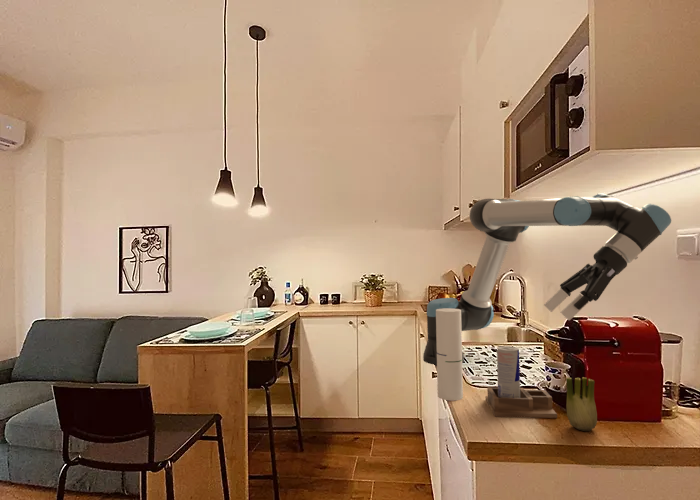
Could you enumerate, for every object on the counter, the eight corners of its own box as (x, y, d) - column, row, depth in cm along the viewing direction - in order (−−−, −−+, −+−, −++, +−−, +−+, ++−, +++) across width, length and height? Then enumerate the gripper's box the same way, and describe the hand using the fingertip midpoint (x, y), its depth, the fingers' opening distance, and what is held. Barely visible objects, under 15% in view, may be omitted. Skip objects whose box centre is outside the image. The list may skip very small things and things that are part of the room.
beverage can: (522, 407, 118) (521, 349, 118) (500, 407, 118) (499, 349, 118) (517, 400, 123) (516, 345, 123) (496, 400, 124) (494, 345, 124)
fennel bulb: (564, 427, 107) (563, 376, 107) (575, 422, 110) (574, 373, 110) (589, 435, 102) (588, 382, 102) (600, 429, 105) (599, 378, 105)
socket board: (485, 399, 127) (485, 385, 127) (541, 400, 126) (540, 386, 126) (495, 416, 115) (494, 400, 115) (557, 417, 113) (556, 401, 113)
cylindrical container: (444, 391, 136) (443, 307, 136) (467, 395, 132) (465, 309, 132) (433, 397, 131) (431, 310, 131) (456, 402, 126) (454, 312, 126)
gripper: (653, 267, 105) (585, 331, 107) (605, 262, 130) (550, 314, 132) (628, 245, 106) (561, 309, 108) (585, 244, 130) (531, 296, 132)
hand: (555, 312), depth 120 cm, fingers open, 13 cm apart
